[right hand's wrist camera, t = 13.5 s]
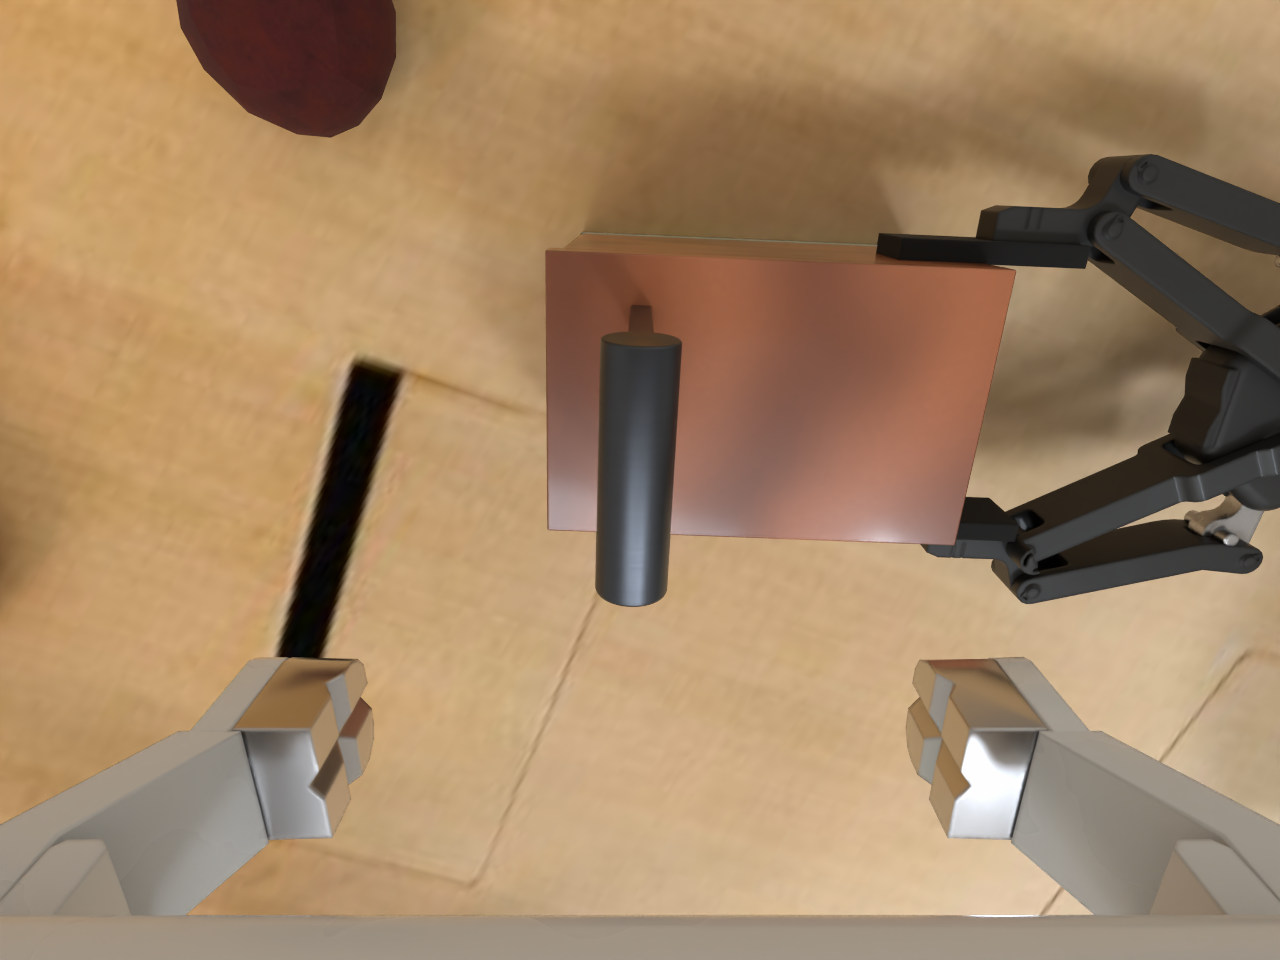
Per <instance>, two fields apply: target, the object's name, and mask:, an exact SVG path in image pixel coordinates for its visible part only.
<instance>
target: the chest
mask: <svg viewBox="0 0 1280 960" xmlns="http://www.w3.org/2000/svg"><path fill="white" fill-rule="evenodd" d="M563 249H583V250H607V251H630V252H654V253H677V254H701V255H724V256H748V257H771V258H795V259H818V260H842V261H865V262H889V263H912V264H936V265H959V266H983V267H998V266H994V265H989V264H981V263H957V262H934V261H910V260H897V259H894V258H890V257H887V256H883V255H880V254H876V250H877V245H874V244H850V243H827V242H804V241H780V240H757V239H734V238H710V237H687V236H664V235H640V234H617V233H594V232H582V233H581V235H580V236H579V237H577V238H576V239H575V240H574V241H572V242H571V243H570V244H568V245H567V246H566V247H565V248H563Z"/></svg>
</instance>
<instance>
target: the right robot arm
mask: <svg viewBox="0 0 1280 960" xmlns="http://www.w3.org/2000/svg"><path fill="white" fill-rule="evenodd" d="M366 685H367V678H366V674H365V669H364V664H363V663H362V662H360V661H359V660H358V659H333V658H255V659H252V660H250V661H248V662H247V663H246V665H245V666H244V667H243V668H242V669H241V671H240V672H239V673H238V674H237V675H236V677H235V678H234V679H233V680H232V681H231V683H230V684H229V685H228V686H227V687H226V689H225V690H224V691H223V692H222V693H221V695H220V696H219V697H218V698H217V699H216V701H215V702H214V703H213V704H212V705H211V706H210V708H209V709H208V710H207V711H206V712H205V714H204V715H203V716H202V717H201V718H200V720H199V721H198V722H197V723H196V724H195V726H194V727H193V728H192V729H191V730H190V731H178V732H176V733H174V734H172V735H170V736H169V737H167V738H165V739H163V740H161V741H159V742H157V743H155V744H153V745H151V746H149V747H148V748H146V749H144V750H142V751H140V752H138V753H136V754H134V755H132V756H130V757H128V758H127V759H125V760H123V761H121V762H119V763H117V764H115V765H113V766H111V767H109V768H107V769H106V770H104V771H102V772H100V773H98V774H96V775H94V776H92V777H90V778H88V779H86V780H85V781H83V782H81V783H79V784H77V785H75V786H73V787H71V788H69V789H67V790H65V791H64V792H62V793H60V794H58V795H56V796H54V797H52V798H50V799H48V800H46V801H44V802H42V803H41V804H39V805H37V806H35V807H33V808H31V809H29V810H27V811H25V812H23V813H21V814H20V815H18V816H16V817H14V818H12V819H10V820H8V821H6V822H4V823H2V824H0V960H1280V825H1279V824H1277V823H1275V822H1273V821H1271V820H1269V819H1268V818H1266V817H1264V816H1262V815H1260V814H1258V813H1256V812H1254V811H1252V810H1250V809H1249V808H1247V807H1245V806H1243V805H1241V804H1239V803H1237V802H1235V801H1233V800H1231V799H1230V798H1228V797H1226V796H1224V795H1222V794H1220V793H1218V792H1216V791H1214V790H1212V789H1210V788H1209V787H1207V786H1205V785H1203V784H1201V783H1199V782H1197V781H1195V780H1193V779H1191V778H1190V777H1188V776H1186V775H1184V774H1182V773H1180V772H1178V771H1176V770H1174V769H1172V768H1170V767H1169V766H1167V765H1165V764H1163V763H1161V762H1159V761H1157V760H1155V759H1153V758H1151V757H1150V756H1148V755H1146V754H1144V753H1142V752H1140V751H1138V750H1136V749H1134V748H1132V747H1130V746H1129V745H1127V744H1125V743H1123V742H1121V741H1119V740H1117V739H1115V738H1113V737H1111V736H1110V735H1108V734H1106V733H1104V732H1102V731H1090V730H1089V729H1088V728H1087V727H1086V726H1085V724H1084V723H1083V722H1082V721H1081V720H1080V718H1079V717H1078V716H1077V715H1076V714H1075V713H1074V711H1073V710H1072V709H1071V708H1070V707H1069V705H1068V704H1067V703H1066V702H1065V701H1064V699H1063V698H1062V697H1061V696H1060V695H1059V693H1058V692H1057V691H1056V690H1055V689H1054V687H1053V686H1052V685H1051V684H1050V683H1049V682H1048V680H1047V679H1046V678H1045V677H1044V676H1043V674H1042V673H1041V672H1040V671H1039V670H1038V668H1037V667H1036V666H1035V665H1034V664H1033V662H1032V661H1030V660H1028V659H1026V658H1024V657H1009V658H989V659H948V660H919V662H918V664H917V666H916V668H915V672H914V678H913V685H914V687H915V689H916V691H917V693H918V694H919V696H920V697H919V698H918V699H917V700H916V701H915V702H914V703H913V704H912V705H911V706H910V707H909V708H908V714H907V722H906V736H907V747H908V751H909V754H910V758H911V761H912V764H913V766H914V768H915V770H916V772H917V775H919V776H920V777H921V778H923V779H924V780H925V781H927V782H928V783H930V784H931V785H932V786H931V792H930V797H929V800H930V802H931V804H932V806H933V808H934V810H935V812H936V815H937V817H938V819H939V821H940V823H941V825H942V827H943V829H944V831H945V833H946V835H947V837H948V838H967V839H1002V840H1012V841H1011V843H1012V844H1013V845H1014V846H1015V847H1017V848H1018V849H1019V850H1020V851H1021V852H1022V853H1023V854H1025V855H1026V856H1027V857H1028V858H1029V859H1030V860H1032V861H1033V862H1034V863H1035V864H1036V865H1037V866H1039V867H1040V868H1041V869H1042V870H1043V871H1044V872H1045V873H1047V874H1048V875H1049V876H1050V877H1051V878H1052V879H1054V880H1055V881H1056V882H1057V883H1058V884H1059V885H1061V886H1062V887H1063V888H1064V889H1065V890H1066V891H1068V892H1069V893H1070V894H1071V895H1072V896H1073V897H1074V898H1076V899H1077V900H1078V901H1079V902H1080V903H1081V904H1083V905H1084V906H1085V907H1086V908H1087V909H1088V910H1090V911H1091V912H1092V913H1093V914H1094V915H186V914H187V913H188V912H190V911H191V910H192V909H193V908H194V907H195V906H196V905H198V904H199V903H200V902H201V901H202V900H203V899H205V898H206V897H207V896H208V895H209V894H210V893H212V892H213V891H214V890H215V889H216V888H217V887H219V886H220V885H221V884H222V883H223V882H224V881H226V880H227V879H228V878H229V877H230V876H231V875H232V874H234V873H235V872H236V871H237V870H238V869H239V868H241V867H242V866H243V865H244V864H245V863H246V862H248V861H249V860H250V859H251V858H252V857H253V856H255V855H256V854H257V853H258V852H259V851H260V850H261V849H263V848H264V847H265V846H266V845H267V844H268V843H269V841H268V840H277V839H312V838H333V835H334V833H335V831H336V829H337V827H338V825H339V823H340V821H341V819H342V817H343V815H344V813H345V810H346V808H347V806H348V804H349V802H350V800H351V797H350V792H349V786H348V785H349V784H350V783H352V782H353V781H355V780H356V779H357V778H359V777H360V776H361V775H363V772H364V770H365V768H366V766H367V763H368V761H369V759H370V754H371V750H372V745H373V740H374V720H373V713H372V708H371V707H370V706H369V705H368V704H367V703H366V702H365V701H364V700H363V699H362V698H361V697H360V696H361V694H362V693H363V691H364V689H365V687H366Z"/></svg>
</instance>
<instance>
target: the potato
mask: <svg viewBox="0 0 1280 960" xmlns="http://www.w3.org/2000/svg"><path fill="white" fill-rule="evenodd" d="M176 1H177V7H178V13H179V19H180V26H181V29H182V31H183V33H184V34H185V36H186V38H187V40H188V42H189V43H190V45H191V47H192V49H193V51H194V52H195V54H196V56H197V58H198V60H199V61H200V63H201V65H202V67H203V69H204V70H205V71H206V72H207V73H208V74H209V75H210V76H211V77H212V78H213V79H214V80H215V81H216V82H217V83H219V84H220V85H221V86H222V87H223V88H224V89H225V90H226V91H227V92H228V93H229V94H230V95H231V96H232V97H233V98H234V99H235V100H236V101H237V102H238V103H239V104H240V105H241V106H242V107H243V108H244V109H245V110H246V111H247V112H248V113H251V114H253V115H255V116H257V117H260V118H262V119H264V120H266V121H269V122H271V123H273V124H275V125H278V126H280V127H282V128H284V129H287V130H289V131H291V132H293V133H296V134H300V135H310V136H321V137H333V136H335V135H337V134H340V133H342V132H344V131H347V130H349V129H351V128H353V127H356V126H358V125H359V124H360V123H361V122H362V121H363V119H364V118H365V117H366V116H367V115H368V114H369V112H370V111H371V110H372V109H373V108H374V107H375V105H376V104H377V103H378V102H379V101H380V99H381V98H382V95H383V92H384V89H385V86H386V84H387V81H388V78H389V75H390V72H391V69H392V67H393V64H394V61H395V58H396V12H395V9H394V5H393V2H392V0H176Z"/></svg>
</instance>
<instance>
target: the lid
mask: <svg viewBox="0 0 1280 960" xmlns="http://www.w3.org/2000/svg"><path fill="white" fill-rule="evenodd" d="M545 259H546V395H547V529H548V530H560V531H587V532H596V580H595V588H596V591H597V593H598V594H599V596H600V597H602V598H603V599H604V600H606V601H608V602H610V603H613V604H616V605H620V606H627V607H639V606H646V605H650V604H653V603H655V602H657V601H659V600H660V599H662V598H663V597H664V595H665V593H666V591H667V581H668V565H669V548H670V535H694V536H720V537H747V538H774V539H800V540H827V541H854V542H880V543H907V544H934V545H955V541H956V537H957V533H958V528H959V524H960V519H961V515H962V510H963V506H964V501H965V497H966V492H967V488H968V484H969V479H970V475H971V470H972V466H973V461H974V457H975V452H976V448H977V444H978V439H979V435H980V430H981V426H982V421H983V417H984V412H985V408H986V403H987V399H988V395H989V390H990V386H991V381H992V377H993V372H994V368H995V363H996V359H997V354H998V350H999V346H1000V341H1001V337H1002V332H1003V328H1004V323H1005V319H1006V314H1007V310H1008V306H1009V301H1010V297H1011V292H1012V288H1013V283H1014V279H1015V274H1016V270H1013V269H1008V268H1004V267H983V266H959V265H936V264H912V263H889V262H865V261H842V260H818V259H795V258H771V257H748V256H724V255H701V254H677V253H654V252H630V251H607V250H583V249H560V248H549V249H548V250H546V252H545Z"/></svg>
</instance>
